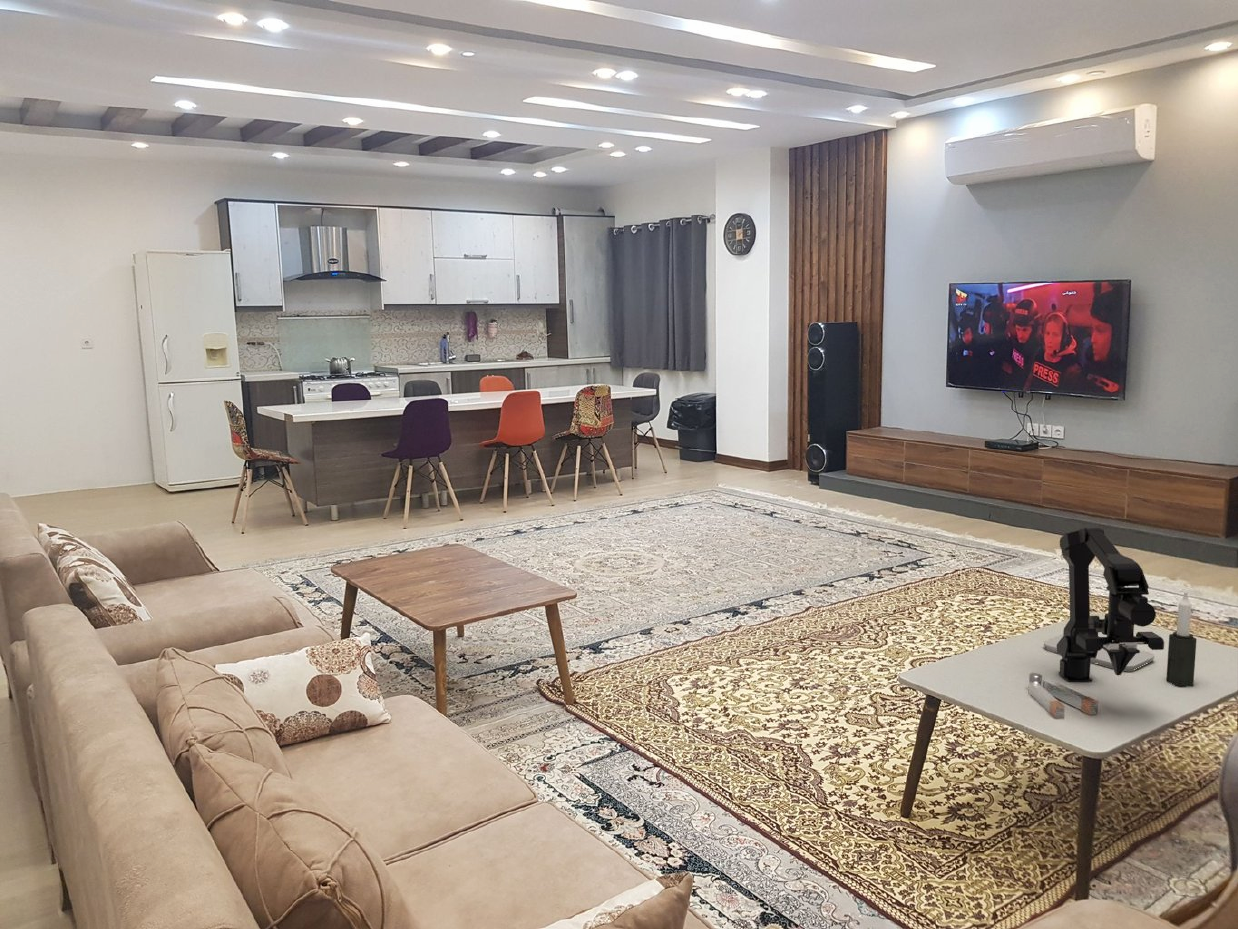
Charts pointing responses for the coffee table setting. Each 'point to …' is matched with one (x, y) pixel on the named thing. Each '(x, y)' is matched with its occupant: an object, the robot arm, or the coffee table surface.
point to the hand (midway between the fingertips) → (1117, 674)
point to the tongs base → (1045, 696)
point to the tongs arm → (1071, 697)
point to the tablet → (1106, 655)
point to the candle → (1182, 648)
